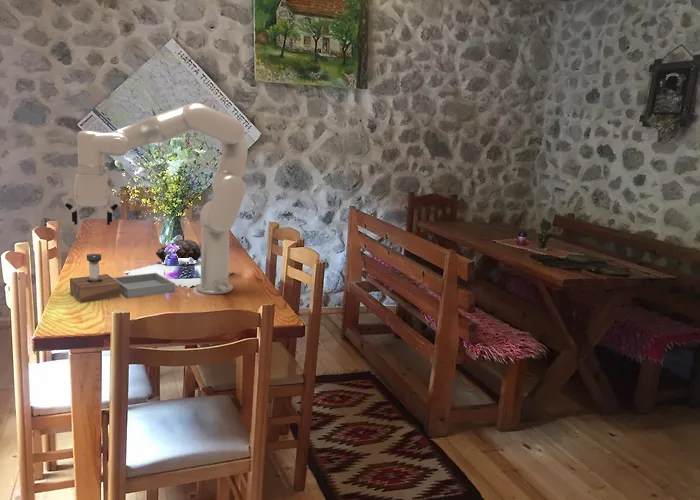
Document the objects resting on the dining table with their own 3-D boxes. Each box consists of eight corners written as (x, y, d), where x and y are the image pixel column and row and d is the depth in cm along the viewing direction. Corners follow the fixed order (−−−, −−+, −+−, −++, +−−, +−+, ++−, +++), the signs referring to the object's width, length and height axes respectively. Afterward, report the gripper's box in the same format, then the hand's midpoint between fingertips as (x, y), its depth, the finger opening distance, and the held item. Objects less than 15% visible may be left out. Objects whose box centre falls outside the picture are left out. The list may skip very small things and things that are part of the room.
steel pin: (104, 296, 192) (103, 255, 189) (90, 297, 189) (88, 257, 186) (99, 292, 195) (98, 253, 192) (85, 294, 192) (84, 254, 190)
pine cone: (154, 261, 241) (154, 237, 239) (198, 260, 248) (199, 237, 246) (157, 267, 232) (157, 243, 230) (202, 266, 239) (203, 242, 237)
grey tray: (174, 291, 202) (174, 283, 201) (128, 298, 191) (128, 289, 191) (156, 280, 214) (156, 272, 213) (111, 286, 203) (111, 277, 203)
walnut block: (120, 297, 192) (119, 282, 191) (81, 302, 184) (80, 287, 183) (107, 288, 200) (107, 274, 199) (70, 293, 193) (69, 278, 192)
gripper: (120, 170, 190) (121, 222, 194) (62, 168, 184) (63, 221, 188) (120, 172, 183) (121, 226, 187) (59, 170, 177) (61, 226, 181)
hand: (92, 224), depth 187 cm, fingers open, 9 cm apart
